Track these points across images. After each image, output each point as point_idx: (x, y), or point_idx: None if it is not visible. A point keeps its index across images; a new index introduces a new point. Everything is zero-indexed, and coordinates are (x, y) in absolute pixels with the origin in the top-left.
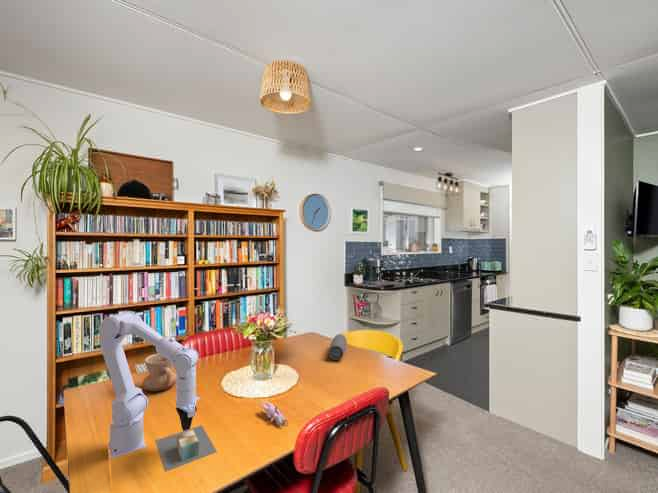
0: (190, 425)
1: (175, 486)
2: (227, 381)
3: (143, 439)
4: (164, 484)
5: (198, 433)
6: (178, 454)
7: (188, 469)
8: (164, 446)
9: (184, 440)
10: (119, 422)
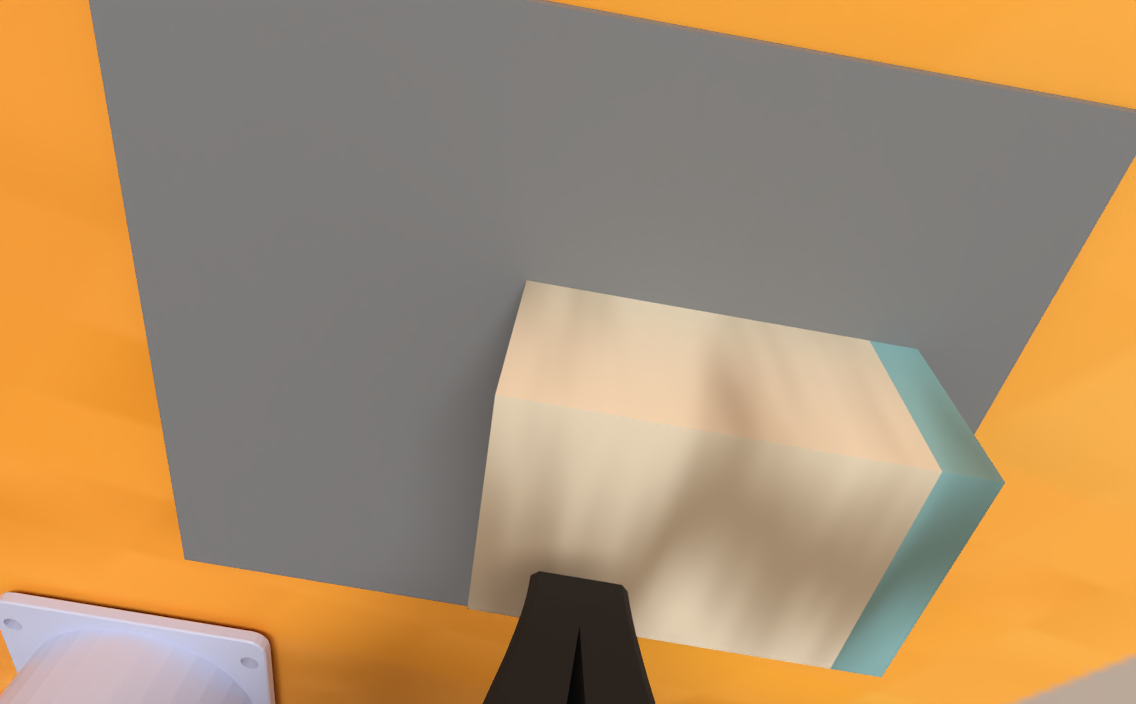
0: (639, 650)
1: (1105, 658)
2: None
3: (103, 623)
4: (975, 693)
5: (351, 111)
6: None
7: (1011, 511)
8: (380, 541)
9: (720, 596)
10: None
